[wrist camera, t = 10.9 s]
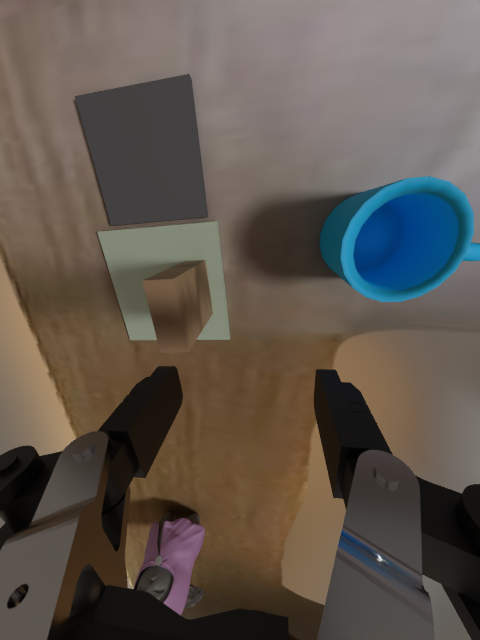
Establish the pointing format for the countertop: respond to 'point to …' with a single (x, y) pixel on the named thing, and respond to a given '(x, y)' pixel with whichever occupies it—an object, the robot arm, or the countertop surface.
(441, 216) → the mug
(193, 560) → the toy character
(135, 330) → the board
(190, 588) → the geode
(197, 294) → the slab
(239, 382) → the countertop surface
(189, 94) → the coaster
